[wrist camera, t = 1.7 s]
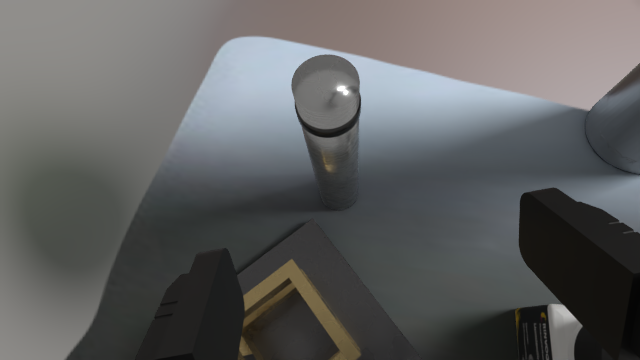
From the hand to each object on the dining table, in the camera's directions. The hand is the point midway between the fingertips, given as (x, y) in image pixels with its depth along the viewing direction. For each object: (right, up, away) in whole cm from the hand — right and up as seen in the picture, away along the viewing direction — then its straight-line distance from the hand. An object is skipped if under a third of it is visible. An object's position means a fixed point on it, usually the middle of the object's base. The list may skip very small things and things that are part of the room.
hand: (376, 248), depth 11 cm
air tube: (+1, +1, +31) cm, 31 cm away
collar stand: (-4, -13, +26) cm, 29 cm away
